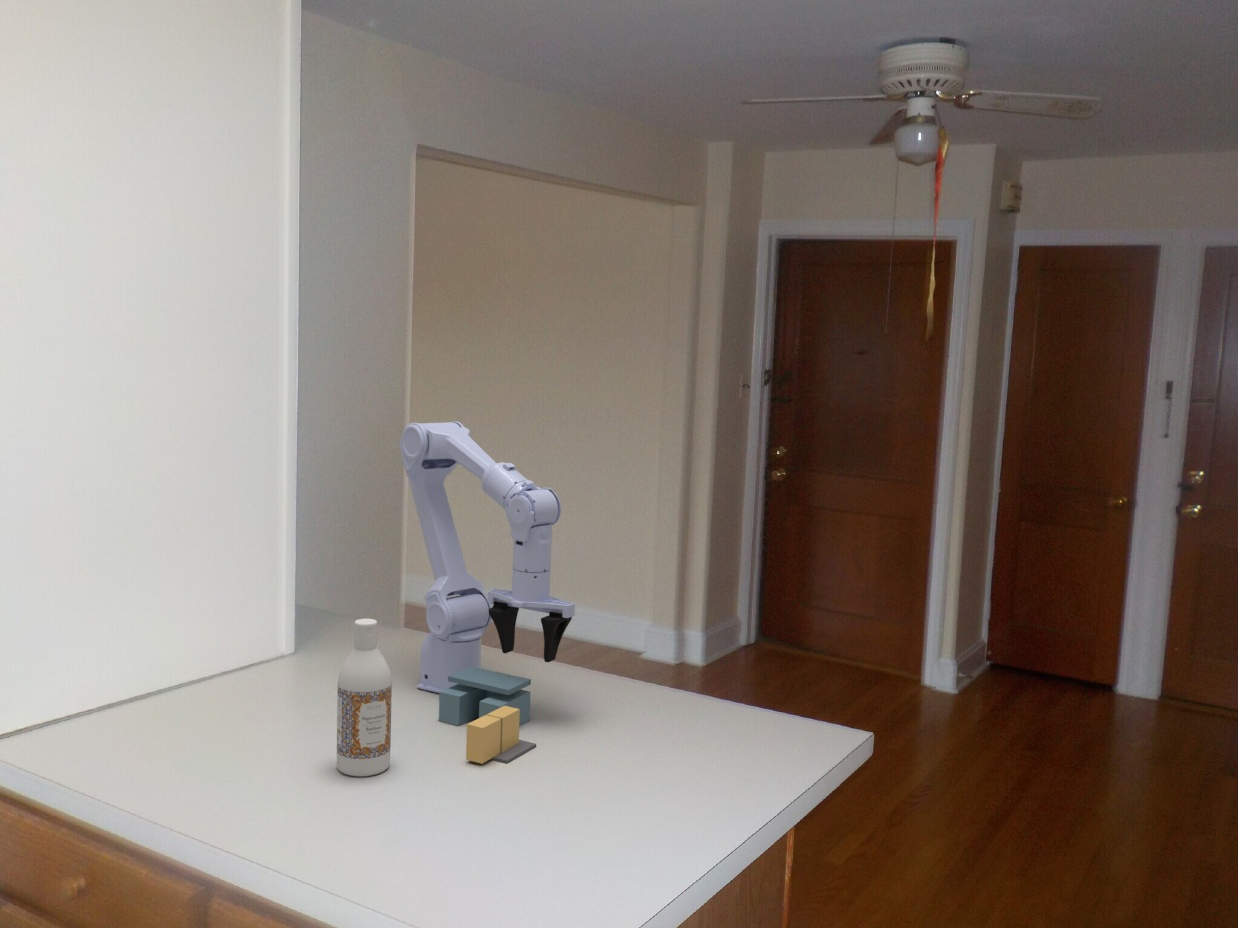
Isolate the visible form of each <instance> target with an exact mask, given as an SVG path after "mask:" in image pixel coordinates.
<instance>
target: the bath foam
mask: <svg viewBox="0 0 1238 928" xmlns="http://www.w3.org/2000/svg"><path fill="white" fill-rule="evenodd" d="M353 628H354V629H353V630H354V631H353V635H354V636H353V642H354V643H353V645H354V647H353V649H352V650H351V651H350V653H349V655H348V656H347V658H346V659H345V661H344V662H343V664H342V666H341V669H340V671H339V675H338V680H337V706H336V707H337V709H336V710H337V711H336V712H337V713H336V715H337V716H336V767H337V769H338V771H339V772H340V773H341V774H344V775H347V776H351V777H369V776H375V775H379V774H381V773H383V772H385V771H386V770H387V769H388V768H389V767H390V763H391V743H392V742H391V740H392V737H391V736H392V735H391V733H392V689H393V688H392V686H393V685H392V684H393V682H392V675H391V669H390V668H389V665H388V663H387V661H386V659H385V658H384V656H383V655H382V653H381V651H380V650H379V649H378V647H377V645H378V621H377V620H376V619H374V618H373V619H372V618H360V619H356V620H354V626H353Z"/></svg>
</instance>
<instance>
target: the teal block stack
mask: <svg viewBox="0 0 1238 928" xmlns="http://www.w3.org/2000/svg"><path fill="white" fill-rule="evenodd" d="M448 681H449V682H453V683H457V684H456V685H454V686H452V687H450V688H447V689H445V690H443V691H440V692H439V693H438V694H439V696H438V697H439V699H438V721H439V722H441V723H446V724H451V725H454V726H457V727H458V726H461V725H463V724H466V723H468V722H470V721H471V720H474V719H476V718H481V717H483V716H485V715H486V714H489V713H491V712H493V711H495V710H497V709H499V708H501V707H503V706H508V707H512V708H517V709H520V717H519V727H520V726H522V725H523V724H525V723H528V722H529V721H530V718H531V717H530V716H531V714H530V713H531V691H528V690H525V689H524V688H526V687H529V686H530V685H531V682H532V679H531V678H526V677H521V676H516V675H512V674H509V673H505V672H504V673H503V672H499V671H495V670H489V669H485V668H482V667H481V668H477V667H472V666H471V667H469V668H466V669H464V670H461V671H459V672H457V673H454V674H452V675H449V676H448Z"/></svg>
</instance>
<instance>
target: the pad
mask: <svg viewBox="0 0 1238 928" xmlns="http://www.w3.org/2000/svg"><path fill="white" fill-rule="evenodd" d="M536 747H537V743H535V742H530V741H527V740H524V739H519V743H518V744H516V745H514V746H513V747H511V748H509V749H507V750H506V751H504V752H502V753H501V754H498V755H497V756H495V757H493V758H491V759H490V760H493V761H496V762H500V763H504V764H508V763H511V762H512V761H514V760H516V759H517V758H519V757H521V756H522V755H524V754H526V753H528V752H530V751H531V750H533V749H535V748H536Z"/></svg>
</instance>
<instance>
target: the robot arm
mask: <svg viewBox="0 0 1238 928" xmlns="http://www.w3.org/2000/svg"><path fill="white" fill-rule="evenodd" d="M398 448H399V451H400V455H401V459H402V462H403V465H404V470H405V473H406V477H407V478H408V482H409V487H410V490H411V494H412V499H413V502H414V506H415V509H416V510H415V511H416V512H417V513H416V514H417V517H418V522H419V525H420V529H421V533H422V536H423V541H424V544H425V548H426V552H427V555H428V560H429V564H430V567H431V570H432V574H433V579H434V582H433V584H432V585H431V587H430V588H429V589H428V591H427V592H426V594H425V595H424V602H425V606H426V607H425V610H426V611H425V619H426V620H425V621H426V624H427V627H428V629H429V631H430V632H429V633H428V634H427V635H426V636H425V637H424V639H423V641H422V644H421V647H420V664H419V665H420V666H419V670H420V671H419V673H420V674H419V683H418V684H417V685H416V688H417V689H419V690H420V689H421V690H424V691H428V692H433V693H436V694H439V692H440V691H443V690H445V689H447V688H450V687H452V686H454V685H456V684H457V683H453V682H449V681H448V676H449V675H452V674H454V673H457V672H459V671H461V670H464V669H466V668H469V667H471V666H472V667H477V668H481V669H482V667H481V662H482V636H483V635H486V628H488V627H489V626H490V625H491V623H492V621H493V624H494V627H495V628H496V631H497V635H498V638H499V641H500V643H499V644H500V647H501V652H502V653H503V654H509V653H511V652H513V651H514V647H515V639H516V637H515V636H516V624H517V618H518V614H519V610H520V609H523V610H529V611H534V612H539V613H545V614H548V615H545V616H543V617H541V618H540V622H541V626H542V632H543V660H544V662H545V663H550V662H553V661H555V660H556V658H557V655H558V654H557V653H558V650H559V646H560V644H561V640H562V638H563V635H564V634H565V632H566V629H567V628H568V626H569V625H570V623H571V621H572V619H573V617H574V616H575V612H576V610H575V609H576V608H575V607H576V603H575V602H572V601H571V602H570V601H567V600H563V599H561V598H557V597H554V596H551V594H550V591H551V565H552V564H551V563H552V541H553V538H552V537H553V535H552V534H553V526H554V525H555V524H556V523H557V522H559V519H560V517H561V512H562V505H561V501H560V497H558V495H557V493H556V492H555V491H554V490H553V488H551V487H539V486H536V485H535V482H534V481H532V480H531V479H528V478H526V477H525V476H524V475H523V474H521V473H520V472H519V471H518V470H516V465H515V464H513V463H512V462H502V461H501V462H497V463H496V461H495V460H494V459H493V458H492V457H490V455H489V454H488V453H487V452H485V450H483V449H482V448H481V446H479V444H478V443H477V442H475V441H474V440H473V438H472V435H471V431H470V429H469V428H467V427H465V425H464V424H463V423H461V422H460V421H457V420H451V421H448V422H447V421H446V422H426V423H425V422H423V423H422V422H411V423H409V424H407V425H406V426H405V428H404V430H403V432H402V434H401V438H400V441H399V443H398ZM458 464H459V465H460V466H461V467H463V468H465V470H467V471H468V472H470V473H471V474H472V475H474V476H475V477H477V478H478V479H479V480H481V488H482V491H483V492H484V493H485V494H487V495H488V496H489V498H490V499H492V500H493V501H494V502H496V504H497V505H499V506H501V508H502V509H504V511H505V515H506V518H507V521H508V524H509V527H510V536H511V539H512V540H513V547H512V549H513V550H512V551H513V552H512V553H513V554H512V555H513V556H512V575H511V576H512V582H511V583H512V585H511V590H507V589H506V590H505V589H504V590H503V589H498V588H497V589H496V588H494V589H491V590H488V591H487V593H486V592H485V589H484V585H483V582H482V581H480V580H479V579H478V578H476V577H474V576H473V575H471V574H470V573H469V572H468V571H467V567H466V563H465V558H464V556H463V552H462V548H461V544H460V540H459V537H458V533H457V530H456V525H455V521H454V518H453V515H452V511H451V506H450V502H449V500H448V496H447V491H446V488H445V484H444V482H445V481H446V480H445V479H446V478H447V476H449V475H450V474H452V472H453V471H454V470H455V468H456V467H457V466H458Z"/></svg>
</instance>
